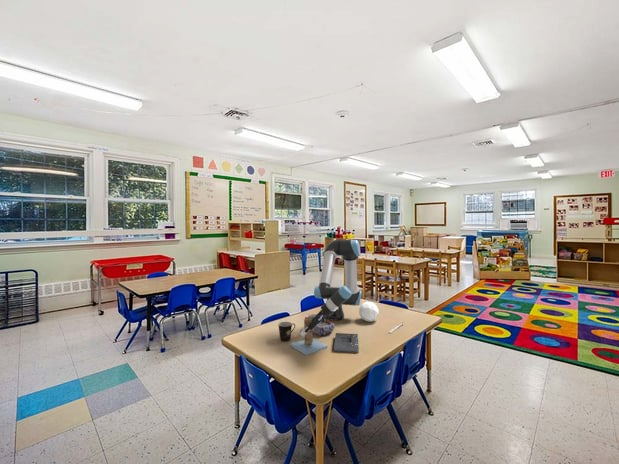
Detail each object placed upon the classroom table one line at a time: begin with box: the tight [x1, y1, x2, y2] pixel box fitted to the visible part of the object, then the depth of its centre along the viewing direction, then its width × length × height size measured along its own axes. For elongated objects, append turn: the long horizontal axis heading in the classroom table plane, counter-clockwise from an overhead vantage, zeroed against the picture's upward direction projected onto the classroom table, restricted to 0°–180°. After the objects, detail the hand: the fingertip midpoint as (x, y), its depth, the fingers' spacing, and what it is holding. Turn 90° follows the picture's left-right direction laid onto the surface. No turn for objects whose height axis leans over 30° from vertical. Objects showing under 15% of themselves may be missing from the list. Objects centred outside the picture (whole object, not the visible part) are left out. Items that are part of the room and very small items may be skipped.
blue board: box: [289, 338, 328, 356], centre depth 174 cm, size 16×16×1 cm
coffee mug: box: [277, 321, 296, 342], centre depth 185 cm, size 12×9×10 cm
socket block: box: [333, 332, 360, 354], centre depth 176 cm, size 20×14×3 cm
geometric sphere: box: [358, 301, 380, 323], centre depth 218 cm, size 14×15×15 cm
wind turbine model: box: [388, 321, 404, 334], centre depth 207 cm, size 16×2×30 cm
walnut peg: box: [303, 316, 314, 345], centre depth 173 cm, size 4×4×15 cm
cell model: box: [307, 313, 335, 336], centre depth 198 cm, size 13×11×20 cm
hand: (302, 333), depth 174 cm, fingers closed on walnut peg, 4 cm apart
